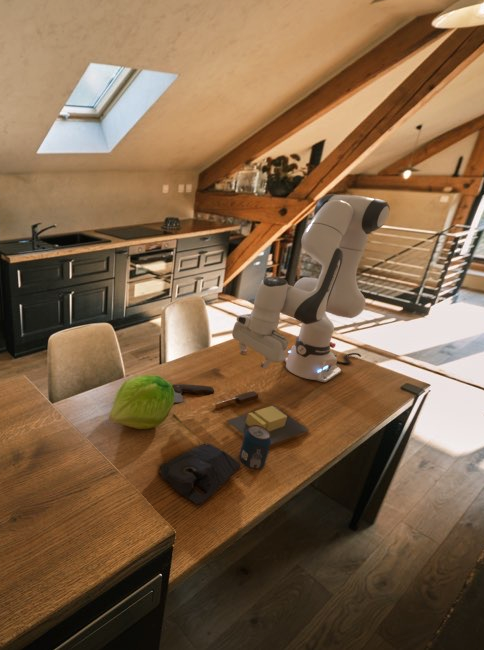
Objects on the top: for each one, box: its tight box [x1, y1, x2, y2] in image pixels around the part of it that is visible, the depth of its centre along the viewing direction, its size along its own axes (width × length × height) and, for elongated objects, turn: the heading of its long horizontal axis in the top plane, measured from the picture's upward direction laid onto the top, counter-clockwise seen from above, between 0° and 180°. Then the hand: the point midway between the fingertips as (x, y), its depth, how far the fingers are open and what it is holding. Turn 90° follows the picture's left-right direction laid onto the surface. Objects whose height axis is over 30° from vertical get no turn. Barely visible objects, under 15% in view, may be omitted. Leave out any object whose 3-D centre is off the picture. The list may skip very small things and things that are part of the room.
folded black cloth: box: [159, 443, 241, 505], centre depth 108 cm, size 15×22×5 cm
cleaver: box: [171, 384, 215, 404], centre depth 142 cm, size 29×10×2 cm, turn 94°
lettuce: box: [108, 374, 175, 430], centre depth 124 cm, size 19×25×17 cm
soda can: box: [238, 425, 272, 470], centre depth 110 cm, size 7×7×12 cm
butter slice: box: [246, 411, 266, 428], centre depth 124 cm, size 2×6×4 cm, turn 24°
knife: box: [214, 390, 260, 409], centre depth 137 cm, size 19×2×4 cm, turn 114°
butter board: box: [226, 404, 309, 446], centre depth 126 cm, size 22×14×6 cm, turn 114°
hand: (253, 360), depth 133 cm, fingers open, 8 cm apart
